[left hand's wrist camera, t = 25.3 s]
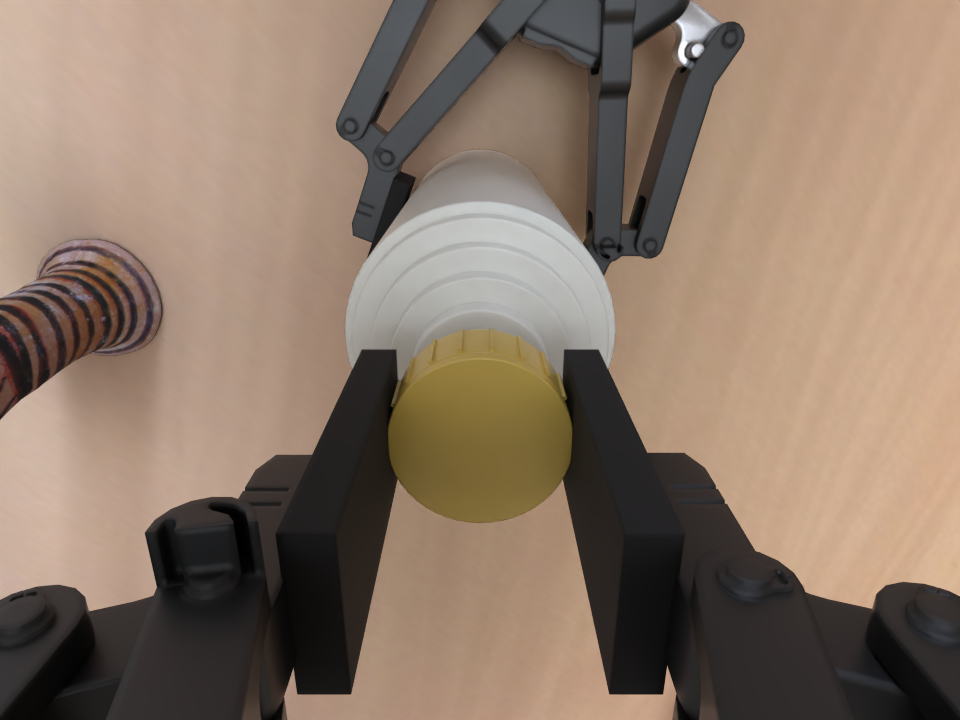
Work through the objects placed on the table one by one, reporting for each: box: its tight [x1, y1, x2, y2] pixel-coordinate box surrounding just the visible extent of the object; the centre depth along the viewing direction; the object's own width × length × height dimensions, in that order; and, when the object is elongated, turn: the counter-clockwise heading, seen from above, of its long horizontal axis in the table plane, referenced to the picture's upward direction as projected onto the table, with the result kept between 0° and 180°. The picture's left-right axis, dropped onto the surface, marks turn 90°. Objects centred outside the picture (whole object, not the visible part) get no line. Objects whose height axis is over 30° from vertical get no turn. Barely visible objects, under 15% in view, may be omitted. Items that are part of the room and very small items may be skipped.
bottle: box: [345, 150, 616, 380], centre depth 25 cm, size 8×8×24 cm
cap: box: [388, 328, 573, 523], centre depth 14 cm, size 4×4×2 cm
